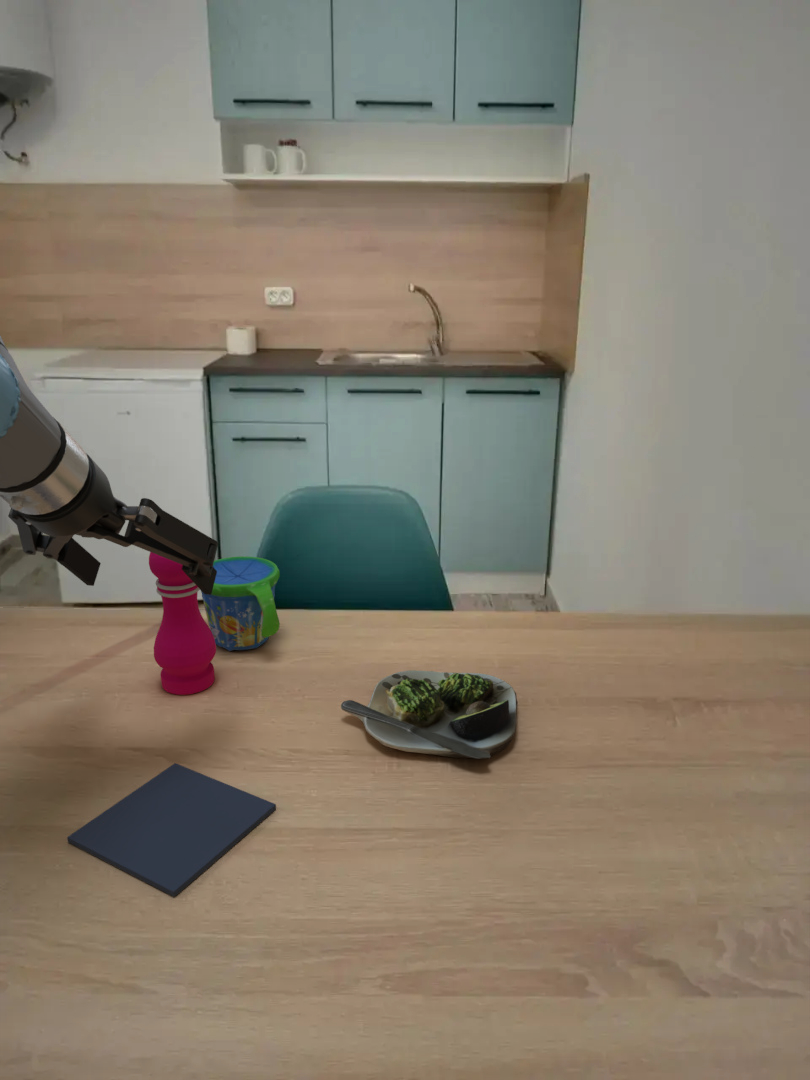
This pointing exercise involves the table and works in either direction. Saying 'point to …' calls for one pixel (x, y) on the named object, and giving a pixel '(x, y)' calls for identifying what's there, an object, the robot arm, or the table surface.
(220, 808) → the placemat
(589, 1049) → the table surface
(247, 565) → the snack cup
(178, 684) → the pepper mill
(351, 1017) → the table surface
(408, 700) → the salad plate
